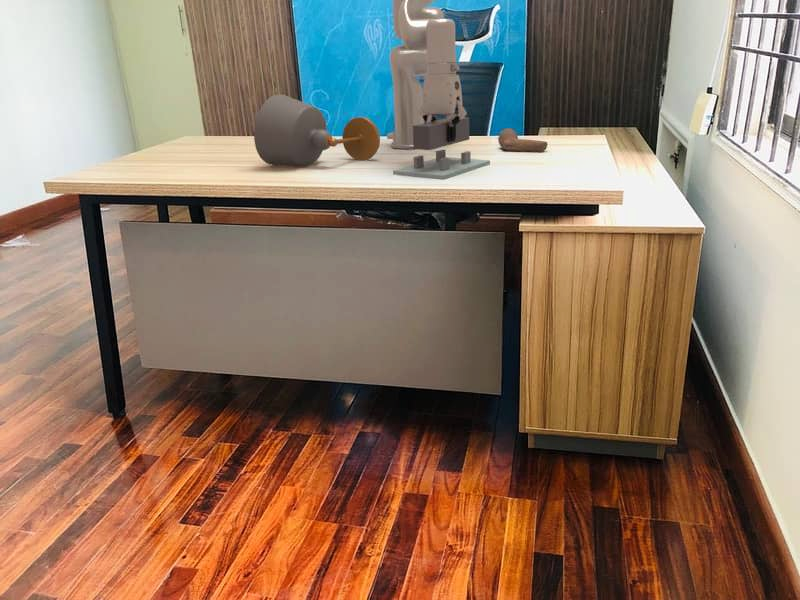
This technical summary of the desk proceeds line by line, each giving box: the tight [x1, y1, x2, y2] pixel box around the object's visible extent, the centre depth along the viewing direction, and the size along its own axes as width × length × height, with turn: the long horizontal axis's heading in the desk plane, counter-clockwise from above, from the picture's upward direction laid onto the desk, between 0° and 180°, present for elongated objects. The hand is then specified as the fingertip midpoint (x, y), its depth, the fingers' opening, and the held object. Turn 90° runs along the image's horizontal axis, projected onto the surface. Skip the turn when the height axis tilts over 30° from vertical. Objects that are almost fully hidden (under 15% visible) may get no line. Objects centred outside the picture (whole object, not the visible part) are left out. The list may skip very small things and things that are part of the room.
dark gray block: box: [413, 116, 470, 151], centre depth 188 cm, size 20×5×6 cm, turn 144°
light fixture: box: [253, 93, 381, 168], centre depth 202 cm, size 20×25×27 cm
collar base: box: [392, 149, 491, 180], centre depth 190 cm, size 16×24×4 cm, turn 144°
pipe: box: [497, 127, 548, 153], centre depth 216 cm, size 6×17×10 cm
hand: (442, 140), depth 188 cm, fingers closed on dark gray block, 5 cm apart
